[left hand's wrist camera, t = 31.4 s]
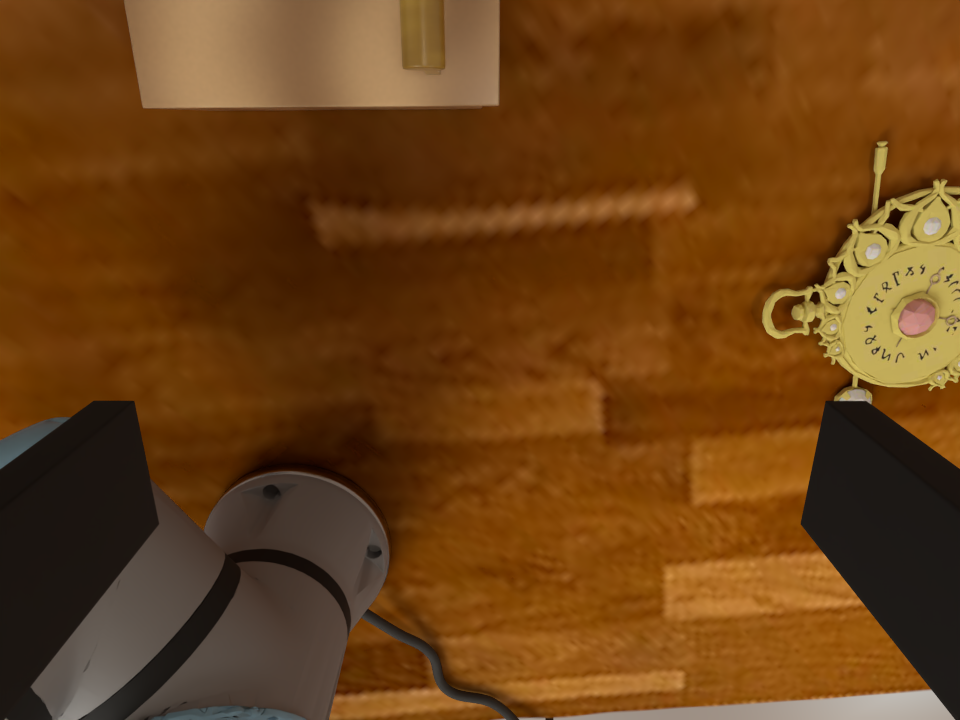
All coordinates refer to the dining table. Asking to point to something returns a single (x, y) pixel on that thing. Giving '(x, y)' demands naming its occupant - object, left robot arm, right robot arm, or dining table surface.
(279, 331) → the dining table surface
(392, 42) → the lid
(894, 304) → the decorative object
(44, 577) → the left robot arm
